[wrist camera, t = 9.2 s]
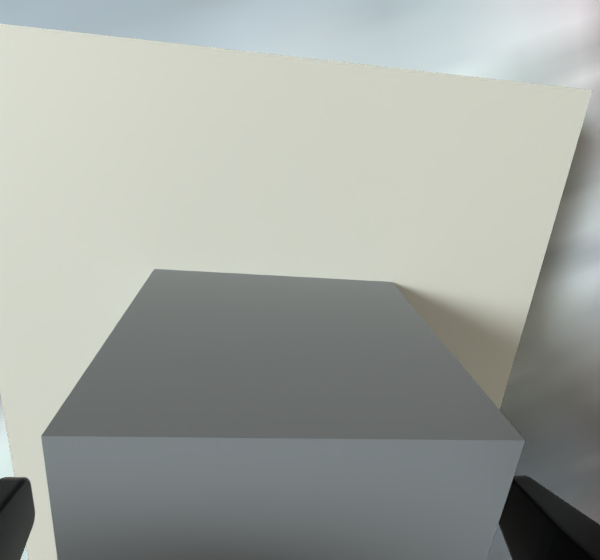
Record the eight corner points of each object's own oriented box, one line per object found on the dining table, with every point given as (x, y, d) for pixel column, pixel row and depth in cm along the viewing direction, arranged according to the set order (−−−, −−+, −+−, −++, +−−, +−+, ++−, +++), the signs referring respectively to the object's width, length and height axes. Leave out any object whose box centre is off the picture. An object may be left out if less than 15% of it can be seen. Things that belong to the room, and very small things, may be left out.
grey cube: (359, 464, 13) (435, 714, 8) (158, 464, 13) (81, 738, 7) (391, 281, 11) (525, 439, 6) (153, 268, 11) (41, 436, 5)
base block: (421, 506, 18) (451, 576, 16) (71, 511, 17) (33, 590, 14) (519, 96, 13) (592, 90, 10) (16, 42, 11) (-64, 16, 8)
